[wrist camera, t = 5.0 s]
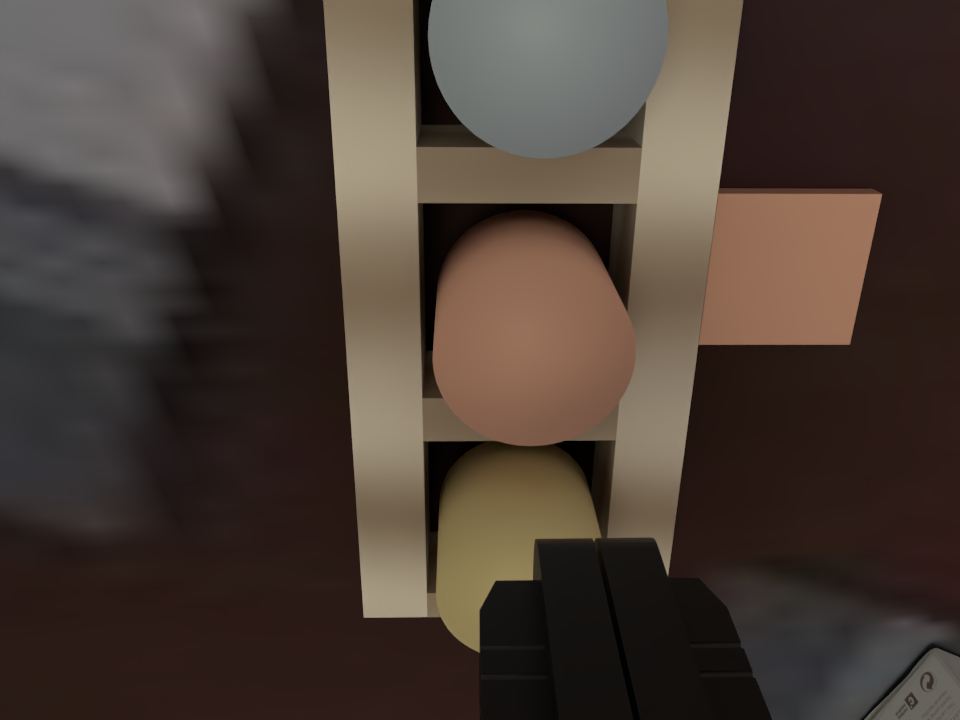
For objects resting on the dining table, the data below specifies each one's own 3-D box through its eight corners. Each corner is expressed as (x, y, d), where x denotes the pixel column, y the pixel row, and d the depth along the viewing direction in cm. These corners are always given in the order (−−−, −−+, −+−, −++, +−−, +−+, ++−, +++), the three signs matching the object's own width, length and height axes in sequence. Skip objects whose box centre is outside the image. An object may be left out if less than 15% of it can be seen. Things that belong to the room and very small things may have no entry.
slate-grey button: (620, 124, 20) (655, 159, 16) (435, 123, 20) (429, 158, 16) (636, -85, 18) (681, -98, 14) (432, -87, 18) (425, -101, 14)
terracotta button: (600, 369, 23) (627, 445, 19) (437, 369, 23) (434, 446, 19) (612, 210, 21) (645, 261, 17) (435, 209, 21) (430, 261, 17)
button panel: (643, 551, 28) (662, 614, 25) (373, 553, 28) (363, 617, 25) (721, -143, 19) (763, -161, 17) (332, -148, 19) (312, -167, 16)
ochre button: (585, 561, 25) (605, 659, 22) (440, 562, 25) (436, 661, 22) (594, 435, 24) (619, 521, 20) (438, 436, 23) (434, 522, 20)
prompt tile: (841, 336, 25) (849, 344, 24) (693, 336, 25) (698, 345, 24) (872, 188, 23) (882, 194, 22) (712, 188, 23) (718, 193, 22)
